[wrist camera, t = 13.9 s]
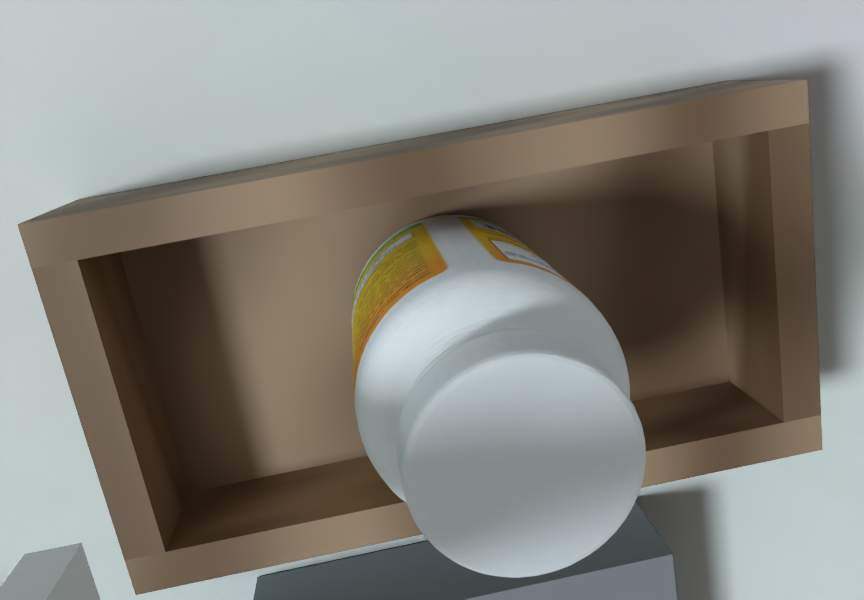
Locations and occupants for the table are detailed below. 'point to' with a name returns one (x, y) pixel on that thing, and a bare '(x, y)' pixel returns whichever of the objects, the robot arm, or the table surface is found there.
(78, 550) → the robot arm
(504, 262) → the supplement bottle
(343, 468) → the trough
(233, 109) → the table surface
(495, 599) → the grey stepped block
